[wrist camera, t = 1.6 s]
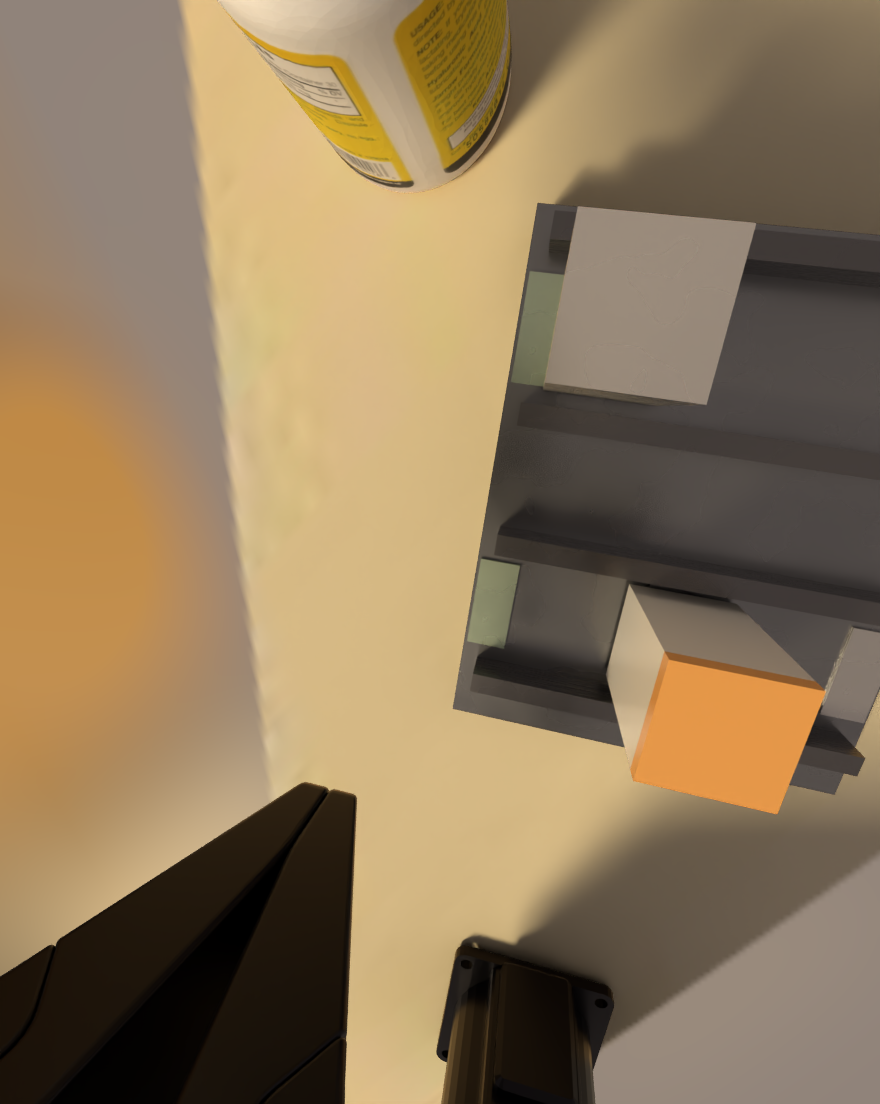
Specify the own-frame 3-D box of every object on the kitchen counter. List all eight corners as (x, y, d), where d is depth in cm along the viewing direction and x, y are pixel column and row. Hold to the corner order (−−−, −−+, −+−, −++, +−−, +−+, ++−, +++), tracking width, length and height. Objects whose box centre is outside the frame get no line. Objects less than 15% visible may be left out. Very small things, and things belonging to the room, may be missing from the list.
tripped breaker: (707, 695, 16) (777, 814, 11) (605, 674, 16) (633, 780, 12) (736, 603, 15) (826, 691, 10) (629, 583, 15) (668, 659, 11)
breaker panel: (810, 763, 18) (947, 942, 12) (459, 686, 19) (424, 809, 13) (1010, 269, 13) (1384, 159, 7) (537, 222, 15) (537, 101, 9)
